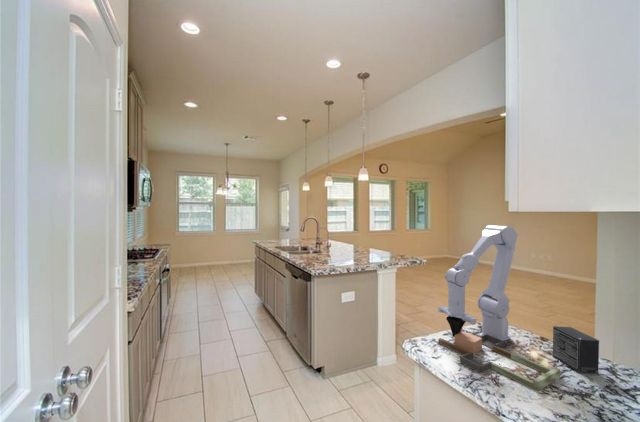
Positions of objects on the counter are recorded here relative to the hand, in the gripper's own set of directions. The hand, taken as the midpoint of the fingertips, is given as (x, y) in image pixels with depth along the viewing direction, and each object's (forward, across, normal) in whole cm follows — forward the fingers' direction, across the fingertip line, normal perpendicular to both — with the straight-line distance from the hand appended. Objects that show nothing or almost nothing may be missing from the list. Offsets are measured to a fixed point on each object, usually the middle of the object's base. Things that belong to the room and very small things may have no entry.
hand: (455, 336), depth 107 cm
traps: (+2, +11, 0) cm, 11 cm away
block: (+2, +5, 0) cm, 5 cm away
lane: (+2, +14, 0) cm, 14 cm away
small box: (+2, +28, +20) cm, 35 cm away
